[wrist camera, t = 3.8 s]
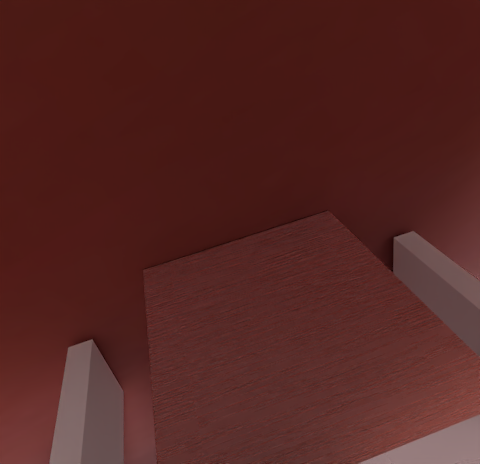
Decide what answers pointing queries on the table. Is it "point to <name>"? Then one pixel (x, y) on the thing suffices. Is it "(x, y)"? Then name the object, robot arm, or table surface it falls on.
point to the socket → (304, 357)
